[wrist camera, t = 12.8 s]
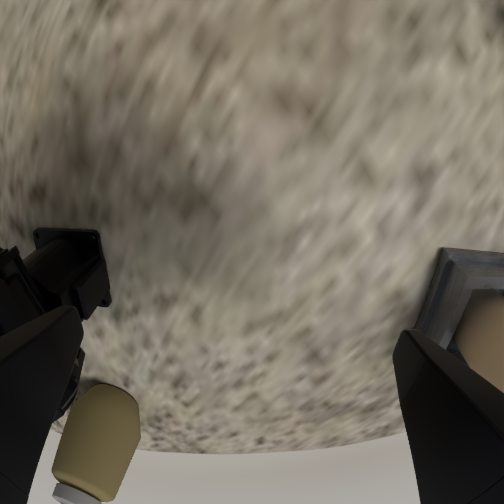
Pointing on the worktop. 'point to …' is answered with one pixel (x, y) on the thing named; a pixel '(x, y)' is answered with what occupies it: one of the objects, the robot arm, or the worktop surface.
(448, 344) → the dock
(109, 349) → the worktop surface
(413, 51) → the worktop surface
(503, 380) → the beige tapered cylinder
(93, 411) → the squeeze bottle
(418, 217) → the worktop surface
